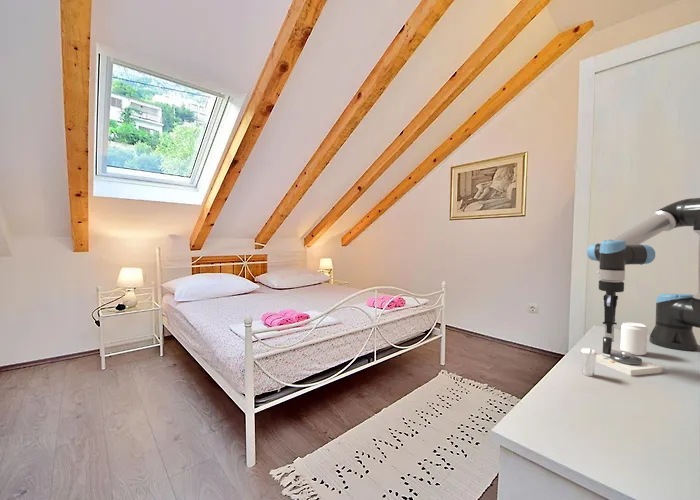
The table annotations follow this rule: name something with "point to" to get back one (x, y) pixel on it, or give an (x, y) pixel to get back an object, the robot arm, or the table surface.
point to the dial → (619, 354)
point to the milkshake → (588, 361)
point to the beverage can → (633, 338)
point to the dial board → (628, 366)
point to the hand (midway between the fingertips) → (609, 340)
